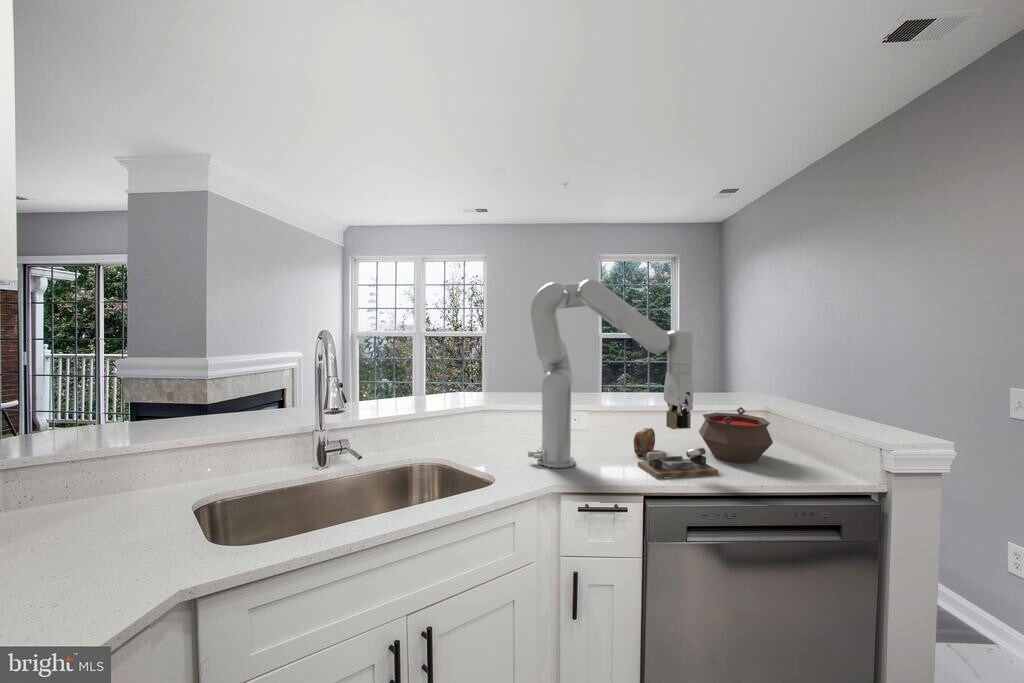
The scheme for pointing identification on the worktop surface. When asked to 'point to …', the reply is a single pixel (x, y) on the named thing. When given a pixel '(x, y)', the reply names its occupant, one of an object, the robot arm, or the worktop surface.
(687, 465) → the rig
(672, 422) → the coupler
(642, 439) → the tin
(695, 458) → the shaft
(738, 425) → the brown cooking pot
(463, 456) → the worktop surface
